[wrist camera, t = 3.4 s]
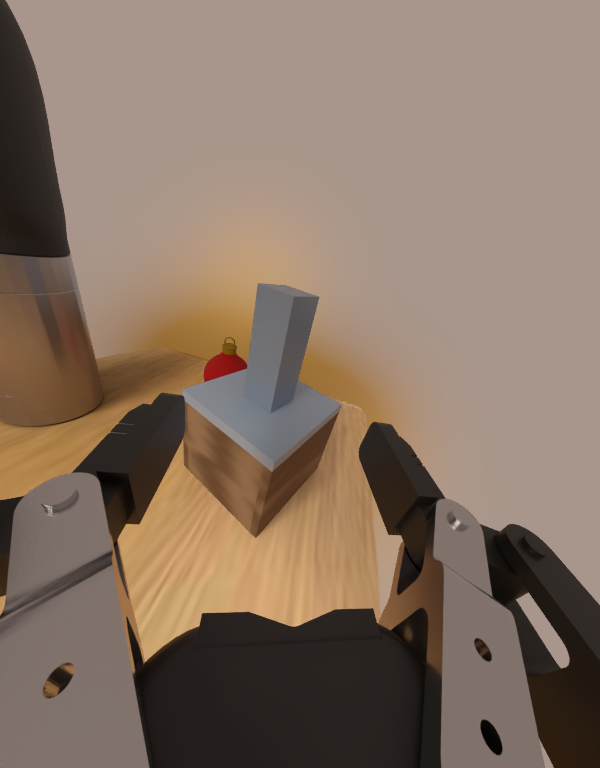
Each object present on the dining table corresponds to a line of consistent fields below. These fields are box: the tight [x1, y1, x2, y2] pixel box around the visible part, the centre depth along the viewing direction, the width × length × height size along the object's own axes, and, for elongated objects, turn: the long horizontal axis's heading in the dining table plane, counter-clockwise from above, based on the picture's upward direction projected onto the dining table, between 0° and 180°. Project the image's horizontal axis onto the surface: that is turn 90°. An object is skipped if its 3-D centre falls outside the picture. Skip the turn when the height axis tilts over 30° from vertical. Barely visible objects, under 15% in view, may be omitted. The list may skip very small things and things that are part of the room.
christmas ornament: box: [204, 337, 247, 382], centre depth 36 cm, size 7×7×10 cm
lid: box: [182, 283, 342, 471], centre depth 20 cm, size 11×11×12 cm
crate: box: [183, 401, 339, 538], centre depth 25 cm, size 11×11×9 cm
